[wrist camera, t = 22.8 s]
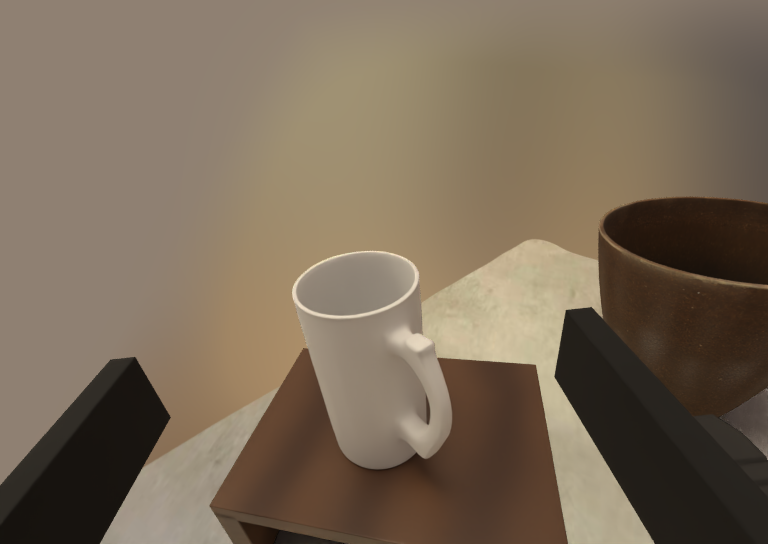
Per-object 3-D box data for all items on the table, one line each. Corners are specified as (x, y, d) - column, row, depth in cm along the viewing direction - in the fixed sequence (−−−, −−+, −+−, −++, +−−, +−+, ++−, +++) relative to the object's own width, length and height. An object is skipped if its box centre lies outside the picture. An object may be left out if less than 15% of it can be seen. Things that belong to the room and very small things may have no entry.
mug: (316, 423, 26) (272, 280, 20) (390, 375, 29) (371, 240, 23) (404, 549, 19) (376, 382, 13) (491, 467, 22) (499, 303, 16)
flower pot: (629, 479, 27) (693, 301, 19) (546, 345, 40) (565, 207, 32) (838, 461, 26) (992, 270, 19) (685, 331, 39) (739, 187, 32)
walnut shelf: (243, 561, 25) (208, 505, 22) (318, 400, 37) (303, 347, 34) (556, 636, 20) (574, 579, 17) (528, 423, 32) (535, 364, 29)
